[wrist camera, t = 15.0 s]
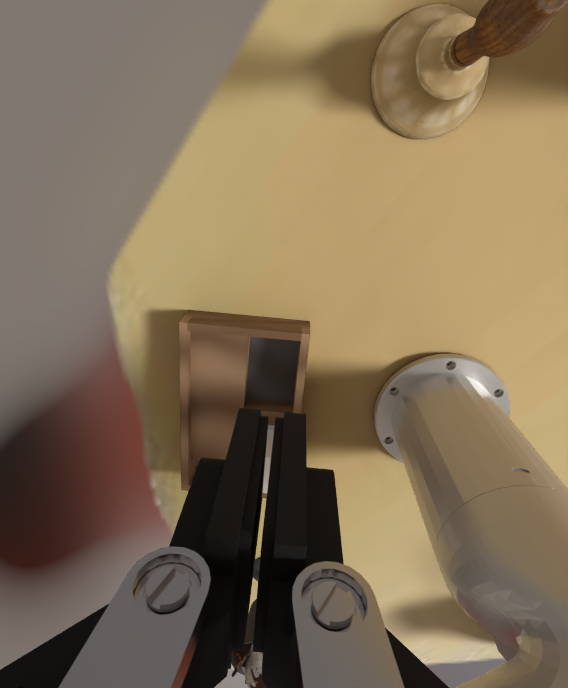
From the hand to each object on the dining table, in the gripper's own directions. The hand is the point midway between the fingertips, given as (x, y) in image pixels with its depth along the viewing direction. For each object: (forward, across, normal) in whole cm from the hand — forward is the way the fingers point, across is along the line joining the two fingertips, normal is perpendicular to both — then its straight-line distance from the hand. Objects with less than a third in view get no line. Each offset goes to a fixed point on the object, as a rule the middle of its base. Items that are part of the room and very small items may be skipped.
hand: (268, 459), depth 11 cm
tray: (+27, +3, +15) cm, 31 cm away
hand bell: (+27, -9, -14) cm, 32 cm away
